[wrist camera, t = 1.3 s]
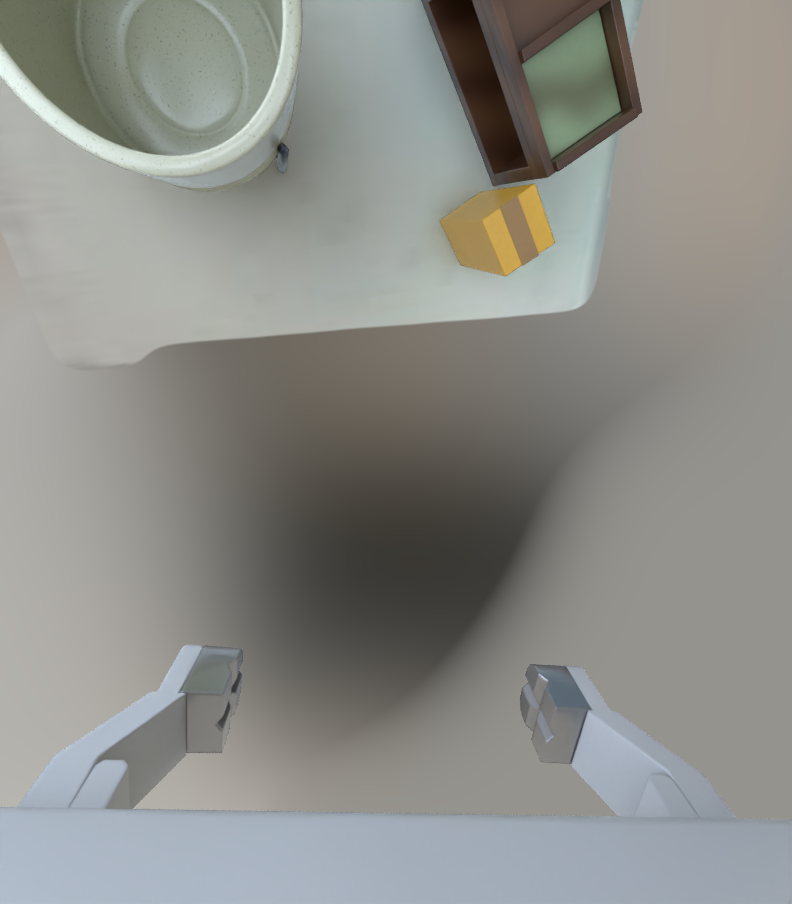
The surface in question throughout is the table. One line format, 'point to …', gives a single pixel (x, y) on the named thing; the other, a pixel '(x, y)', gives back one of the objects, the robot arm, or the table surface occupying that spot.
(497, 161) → the rack
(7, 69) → the planter
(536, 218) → the package
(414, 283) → the table surface
